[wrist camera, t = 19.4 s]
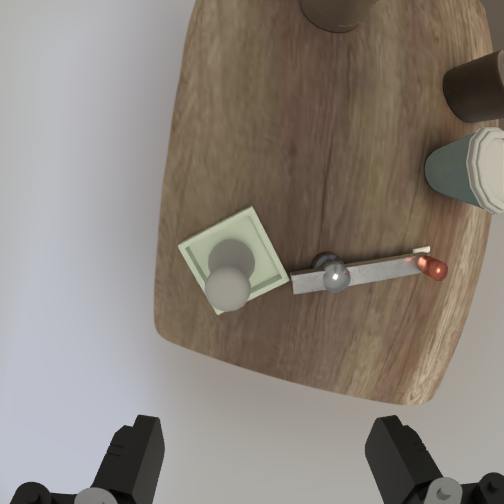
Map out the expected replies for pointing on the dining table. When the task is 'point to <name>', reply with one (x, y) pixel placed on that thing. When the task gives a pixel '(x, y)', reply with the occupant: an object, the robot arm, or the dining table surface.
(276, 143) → the dining table surface
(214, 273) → the salt shaker
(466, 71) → the pillar candle
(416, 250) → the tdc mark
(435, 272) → the crank
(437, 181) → the disposable coffee cup
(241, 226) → the tray
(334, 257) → the crank base
